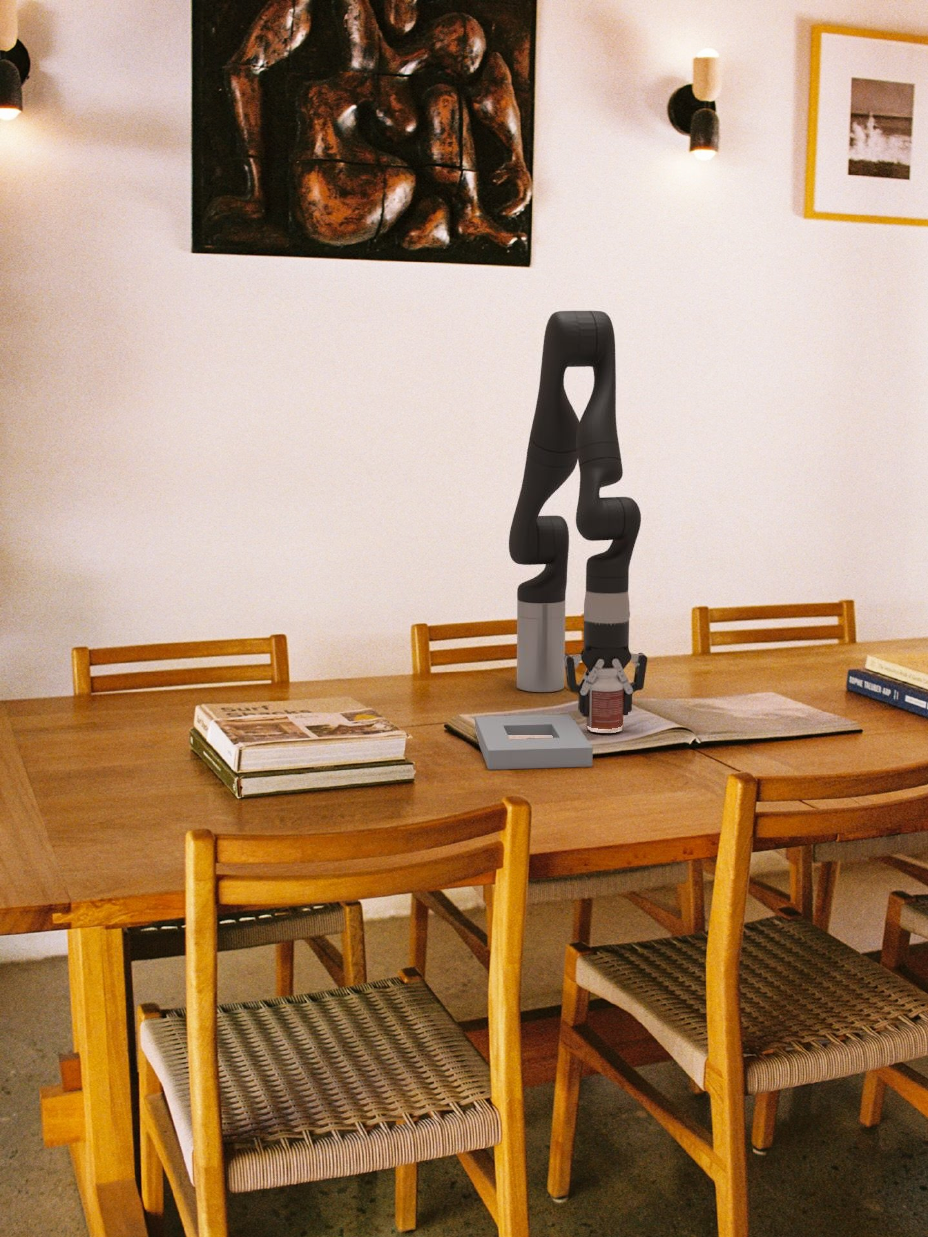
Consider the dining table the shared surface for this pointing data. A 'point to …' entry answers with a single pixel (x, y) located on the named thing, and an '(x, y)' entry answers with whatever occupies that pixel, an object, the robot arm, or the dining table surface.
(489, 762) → the socket board
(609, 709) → the pill bottle
